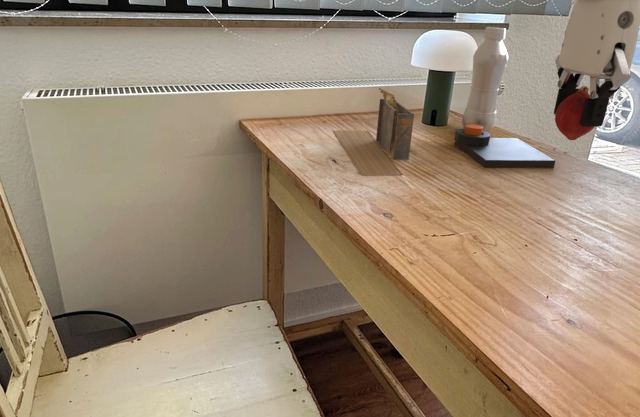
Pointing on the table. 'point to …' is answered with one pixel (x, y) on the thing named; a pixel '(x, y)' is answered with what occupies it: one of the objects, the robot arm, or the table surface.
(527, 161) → the scale
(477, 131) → the button
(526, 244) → the table surface
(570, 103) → the onion
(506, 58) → the plastic bottle
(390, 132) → the ruin model on sheet
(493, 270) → the table surface
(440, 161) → the table surface
